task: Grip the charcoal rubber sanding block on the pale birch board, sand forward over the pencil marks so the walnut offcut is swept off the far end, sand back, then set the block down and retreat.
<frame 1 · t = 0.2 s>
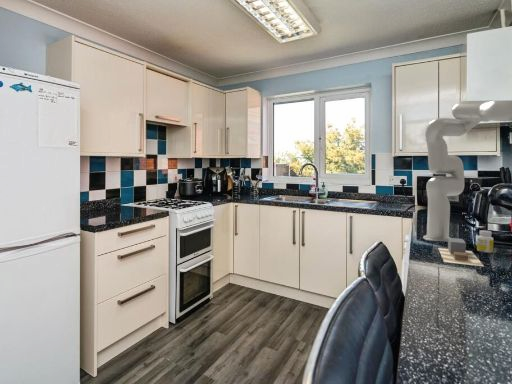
sanding block: (456, 252, 123), point 1 cm above the countertop, touching birch board
walnut offcut: (460, 258, 115), point 1 cm above the countertop, touching birch board
birch board: (458, 259, 118), on the countertop
supplement bottle: (484, 254, 126), on the countertop
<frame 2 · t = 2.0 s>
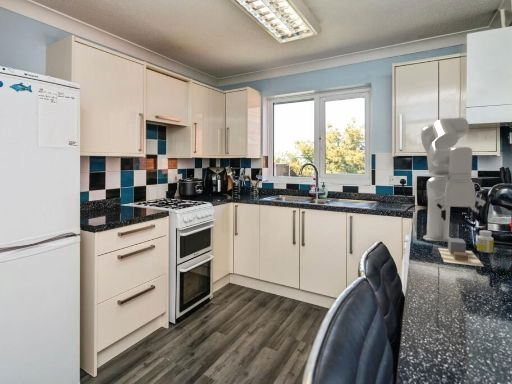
hand: (458, 220, 122), 15 cm above the countertop, tool pointing down, fingers open, 9 cm apart
nothing on the countertop moved.
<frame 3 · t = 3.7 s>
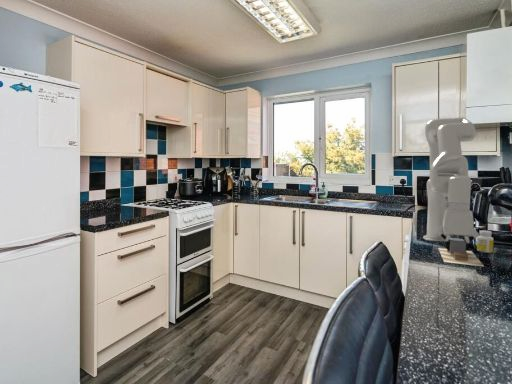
hand: (456, 250, 123), 2 cm above the countertop, tool pointing down, fingers closed on sanding block, 5 cm apart
sanding block: (456, 252, 123), point 2 cm above the countertop, touching birch board, gripper
everything else where it was.
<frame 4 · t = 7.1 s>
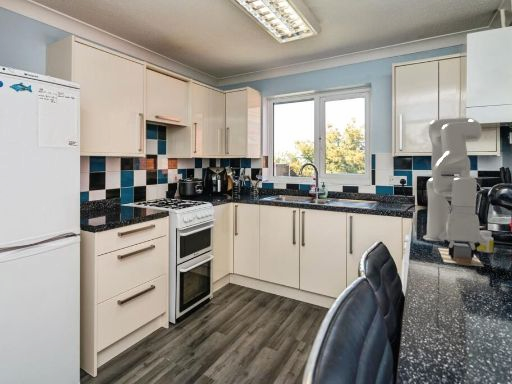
hand: (460, 257, 114), 2 cm above the countertop, tool pointing down, fingers closed on sanding block, 5 cm apart
sanding block: (460, 258, 114), point 2 cm above the countertop, touching gripper
walnut offcut: (463, 263, 109), point 2 cm above the countertop
everything else where it was.
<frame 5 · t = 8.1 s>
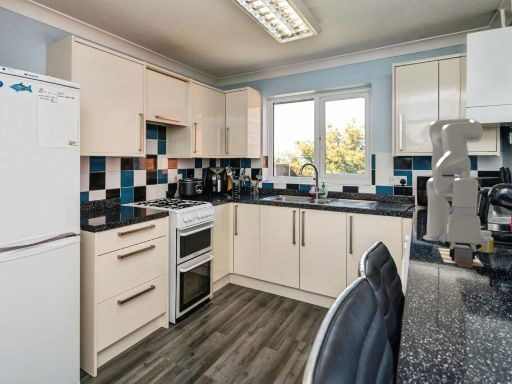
hand: (461, 259, 112), 2 cm above the countertop, tool pointing down, fingers closed on sanding block, 5 cm apart
sanding block: (461, 260, 112), point 2 cm above the countertop, touching gripper, walnut offcut
walnut offcut: (464, 266, 107), point 1 cm above the countertop, tilted 25°, touching birch board, sanding block
everything else where it was.
when the fingers open (4 cm above the countertop, at t = 11.2 s): sanding block drops 2 cm, resting on birch board.
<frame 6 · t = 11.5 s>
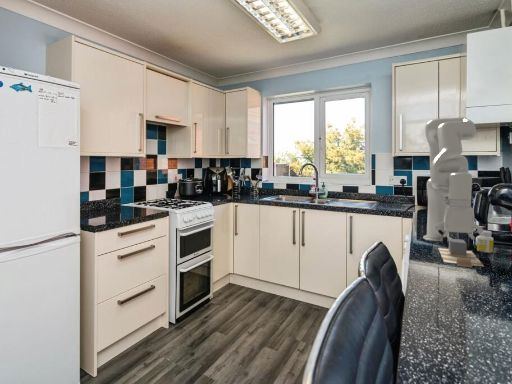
hand: (457, 247, 122), 4 cm above the countertop, tool pointing down, fingers open, 7 cm apart
sanding block: (457, 253, 122), point 2 cm above the countertop, touching birch board
walnut offcut: (463, 266, 107), point 1 cm above the countertop, tilted 27°, touching birch board
everything else where it was.
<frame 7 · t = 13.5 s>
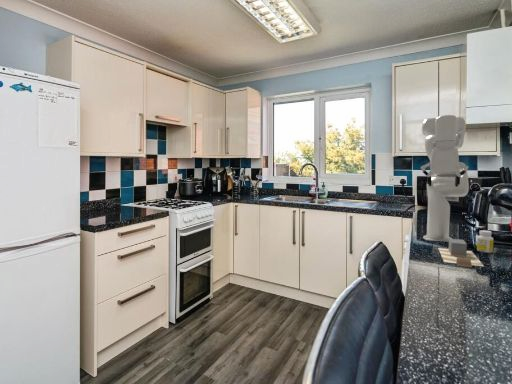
hand: (442, 186, 129), 28 cm above the countertop, tool pointing down, fingers open, 9 cm apart
nothing on the countertop moved.
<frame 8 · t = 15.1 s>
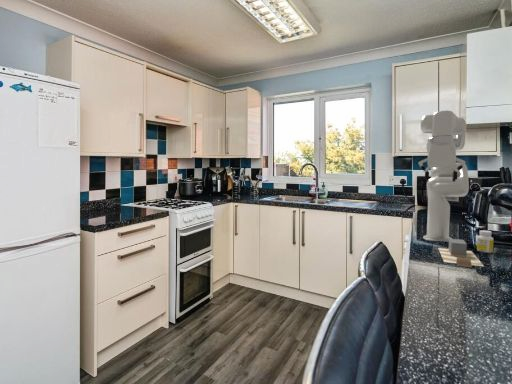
hand: (440, 181, 129), 30 cm above the countertop, tool pointing down, fingers open, 9 cm apart
nothing on the countertop moved.
at the end: walnut offcut inside the target area (6.9 cm from its centre), point 0.9 cm above the countertop; sanding block inside the target area on the birch board (3.8 cm from its centre), point 1.5 cm above the birch board's base; sanding block tilted 0° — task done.
